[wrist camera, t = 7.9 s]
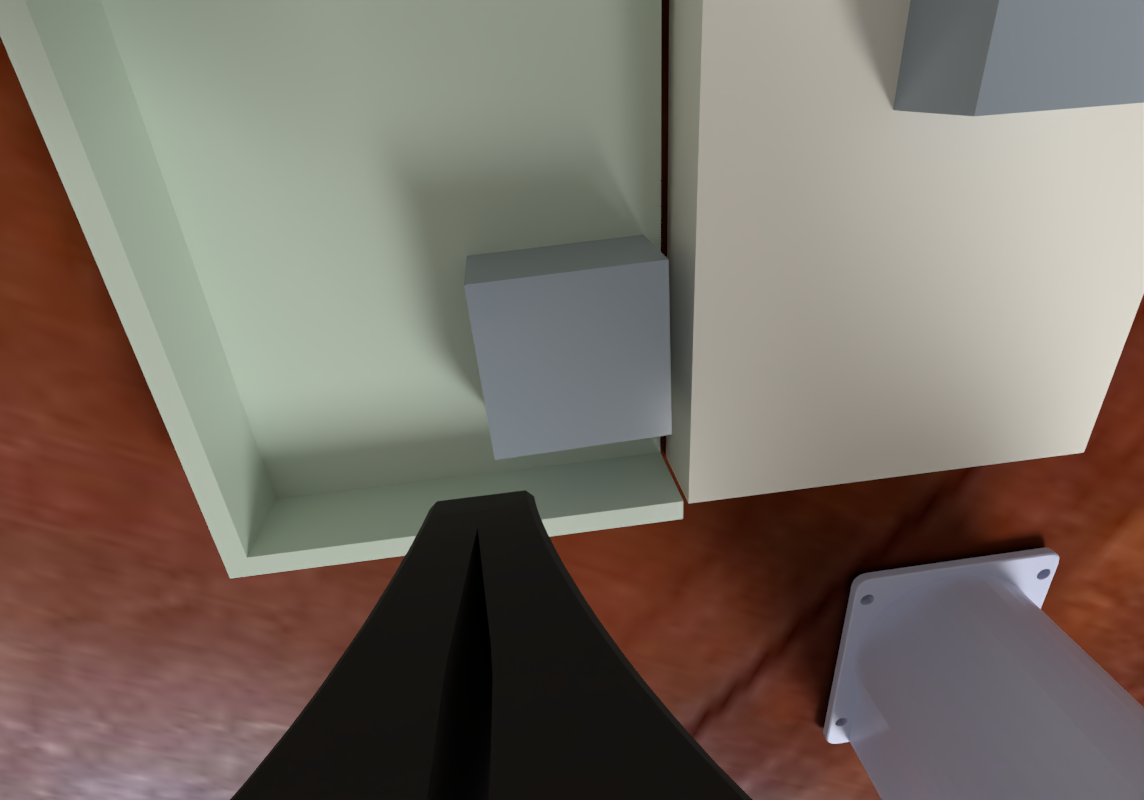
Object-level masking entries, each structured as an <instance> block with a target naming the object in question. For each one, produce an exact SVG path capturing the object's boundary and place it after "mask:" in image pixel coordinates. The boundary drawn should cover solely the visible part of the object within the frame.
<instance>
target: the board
mask: <svg viewBox="0 0 1144 800" xmlns="http://www.w3.org/2000/svg"><path fill="white" fill-rule="evenodd" d="M910 1H911V0H669V71H668V210H667V258H668V259H669V306H670V361H671V415H672V435H666V458H667V460H668V462H669V464H670V466H671V468H672V470H673V472H674V474H675V477H676V479H677V481H678V483H679V485H680V487H681V489H682V491H683V493H684V495H685V497H686V499H687V502H688V504H690V503H698V502H705V501H713V500H721V499H728V498H736V497H744V496H752V495H759V494H767V493H775V492H782V491H790V490H798V489H806V488H813V487H821V486H829V485H836V484H844V483H852V482H860V481H867V480H875V479H883V478H890V477H898V476H906V475H914V474H921V473H929V472H937V471H944V470H952V469H960V468H968V467H975V466H983V465H991V464H998V463H1006V462H1014V461H1022V460H1029V459H1037V458H1045V457H1052V456H1060V455H1068V454H1076V453H1083V452H1084V451H1085V448H1086V445H1087V443H1088V440H1089V437H1090V435H1091V432H1092V429H1093V427H1094V424H1095V421H1096V419H1097V416H1098V413H1099V411H1100V408H1101V405H1102V403H1103V400H1104V397H1105V395H1106V392H1107V389H1108V387H1109V384H1110V382H1111V379H1112V376H1113V374H1114V371H1115V368H1116V366H1117V363H1118V360H1119V358H1120V355H1121V352H1122V350H1123V347H1124V344H1125V342H1126V339H1127V336H1128V334H1129V331H1130V328H1131V326H1132V323H1133V320H1134V318H1135V315H1136V312H1137V310H1138V307H1139V304H1140V302H1141V299H1142V296H1143V294H1144V103H1132V104H1119V105H1107V106H1095V107H1083V108H1070V109H1058V110H1046V111H1034V112H1022V113H1009V114H997V115H985V116H962V115H949V114H936V113H922V112H909V111H896V110H893V108H894V101H895V95H896V89H897V83H898V76H899V70H900V64H901V58H902V51H903V45H904V39H905V33H906V26H907V20H908V14H909V7H910Z"/></svg>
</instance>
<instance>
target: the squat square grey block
mask: <svg viewBox="0 0 1144 800" xmlns="http://www.w3.org/2000/svg"><path fill="white" fill-rule="evenodd" d="M464 290H465V295H466V301H467V307H468V312H469V318H470V323H471V329H472V335H473V340H474V346H475V352H476V357H477V363H478V369H479V374H480V380H481V386H482V391H483V397H484V403H485V408H486V414H487V419H488V425H489V431H490V436H491V442H492V448H493V453H494V459H495V460H499V459H506V458H513V457H520V456H527V455H534V454H541V453H548V452H555V451H562V450H569V449H576V448H583V447H589V446H596V445H603V444H610V443H617V442H624V441H631V440H638V439H645V438H652V437H659V436H666V435H672V415H671V361H670V306H669V259H668V258H667V257H666V256H665V255H664V254H663V253H662V252H661V251H659V250H658V249H657V248H656V247H655V246H654V245H653V244H652V243H651V242H650V241H649V240H648V239H647V238H646V237H645V236H644V235H635V236H627V237H619V238H610V239H602V240H594V241H586V242H577V243H569V244H561V245H553V246H544V247H536V248H528V249H520V250H511V251H503V252H495V253H487V254H478V255H470V256H467V258H466V268H465V277H464Z"/></svg>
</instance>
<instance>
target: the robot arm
mask: <svg viewBox="0 0 1144 800" xmlns="http://www.w3.org/2000/svg"><path fill="white" fill-rule="evenodd" d="M1058 563H1059V556H1058V554H1056V553H1055V552H1054V551H1053V550H1052V549H1050V548H1038V549H1031V550H1024V551H1017V552H1010V553H1003V554H996V555H989V556H982V557H975V558H968V559H960V560H953V561H946V562H939V563H932V564H925V565H918V566H911V567H904V568H897V569H890V570H883V571H876V572H869V573H864V574H861V575H859V576H857V577H856V578H855V579H854V580H853V583H852V585H851V590H850V595H849V601H848V606H847V611H846V616H845V621H844V626H843V632H842V637H841V642H840V647H839V652H838V657H837V663H836V668H835V673H834V678H833V683H832V688H831V694H830V699H829V704H828V709H827V714H826V719H825V725H824V730H823V734H824V736H825V738H826V740H827V741H828V742H829V743H832V744H838V743H844V742H850V743H851V745H852V746H853V748H854V750H855V752H856V754H857V755H858V757H859V759H860V761H861V763H862V765H863V766H864V768H865V770H866V772H867V774H868V776H869V777H870V779H871V781H872V783H873V785H874V786H875V788H876V790H877V792H878V794H879V796H880V797H881V799H882V800H1144V707H1142V706H1141V705H1140V704H1139V703H1138V702H1137V701H1136V700H1135V699H1134V698H1133V697H1132V696H1131V695H1130V694H1129V693H1128V692H1127V691H1126V690H1125V689H1124V688H1123V687H1122V686H1120V685H1119V684H1118V683H1117V682H1116V681H1115V680H1114V679H1113V678H1112V677H1111V676H1110V675H1109V674H1108V673H1107V672H1106V671H1105V670H1104V669H1103V668H1102V667H1101V666H1099V665H1098V664H1097V663H1096V662H1095V661H1094V660H1093V659H1092V658H1091V657H1090V656H1089V655H1088V654H1087V653H1086V652H1085V651H1084V650H1083V649H1082V648H1081V647H1080V646H1079V645H1077V644H1076V643H1075V642H1074V641H1073V640H1072V639H1071V638H1070V637H1069V636H1068V635H1067V634H1066V633H1065V632H1064V631H1063V630H1062V629H1061V628H1060V627H1059V626H1058V625H1057V624H1055V623H1054V622H1053V621H1052V620H1051V619H1050V618H1049V617H1048V616H1047V615H1046V614H1045V613H1044V612H1043V611H1042V610H1041V606H1042V604H1043V601H1044V599H1045V596H1046V594H1047V591H1048V589H1049V586H1050V583H1051V581H1052V578H1053V576H1054V573H1055V571H1056V568H1057V566H1058ZM230 800H752V799H751V798H750V797H749V796H748V795H747V794H746V793H745V792H744V791H743V790H742V789H741V788H740V787H739V786H738V785H737V784H736V783H735V782H734V781H733V780H732V779H731V778H730V777H729V776H728V775H727V774H726V773H725V772H724V771H723V770H722V769H721V768H720V767H719V766H718V765H717V764H716V763H715V762H714V760H713V759H712V758H711V757H710V756H709V755H708V754H707V753H706V752H705V751H704V749H703V748H702V747H701V746H700V745H699V744H698V743H697V742H696V741H695V739H694V738H693V737H692V736H691V735H690V734H689V733H688V732H687V731H686V729H685V728H684V727H683V726H682V725H681V724H680V723H679V722H678V720H677V719H676V718H675V717H674V716H673V715H672V714H671V712H670V711H669V710H668V709H667V708H666V706H665V705H664V704H663V703H662V702H661V700H660V699H659V698H658V697H657V696H656V694H655V693H654V692H653V691H652V690H651V689H650V687H649V686H648V685H647V684H646V682H645V681H644V680H643V679H642V677H641V676H640V675H639V674H638V672H637V671H636V670H635V669H634V667H633V666H632V665H631V663H630V662H629V661H628V659H627V658H626V657H625V655H624V654H623V653H622V652H621V650H620V649H619V647H618V646H617V645H616V643H615V642H614V641H613V639H612V638H611V636H610V635H609V634H608V632H607V631H606V629H605V628H604V627H603V625H602V624H601V622H600V621H599V620H598V618H597V617H596V615H595V614H594V612H593V611H592V609H591V608H590V606H589V605H588V603H587V602H586V600H585V599H584V597H583V595H582V594H581V592H580V590H579V589H578V587H577V586H576V584H575V582H574V581H573V579H572V577H571V576H570V574H569V573H568V571H567V569H566V568H565V566H564V564H563V562H562V561H561V559H560V557H559V555H558V553H557V552H556V550H555V548H554V546H553V544H552V542H551V540H550V538H549V536H548V534H547V531H546V529H545V527H544V525H543V523H542V520H541V518H540V515H539V512H538V509H537V506H536V502H535V497H534V496H533V495H532V494H530V493H529V492H527V491H526V490H524V491H515V492H507V493H499V494H491V495H483V496H475V497H467V498H459V499H451V500H443V501H437V502H436V503H435V504H434V505H433V506H432V507H431V508H430V510H429V512H428V514H427V516H426V518H425V520H424V522H423V524H422V526H421V528H420V530H419V532H418V533H417V535H416V537H415V539H414V541H413V543H412V545H411V546H410V548H409V550H408V552H407V554H406V555H405V557H404V559H403V561H402V562H401V564H400V566H399V568H398V569H397V571H396V573H395V575H394V576H393V578H392V580H391V581H390V583H389V584H388V586H387V588H386V589H385V591H384V592H383V594H382V596H381V597H380V599H379V601H378V602H377V604H376V605H375V607H374V609H373V610H372V612H371V614H370V615H369V617H368V618H367V620H366V621H365V623H364V625H363V626H362V628H361V629H360V631H359V632H358V634H357V635H356V636H355V638H354V639H353V641H352V642H351V644H350V645H349V646H348V648H347V649H346V651H345V652H344V654H343V655H342V657H341V658H340V659H339V661H338V662H337V664H336V665H335V667H334V668H333V670H332V671H331V672H330V674H329V675H328V677H327V678H326V680H325V681H324V682H323V684H322V685H321V687H320V688H319V689H318V691H317V692H316V694H315V695H314V696H313V698H312V699H311V700H310V702H309V703H308V704H307V706H306V707H305V708H304V709H303V711H302V712H301V713H300V715H299V716H298V717H297V719H296V720H295V721H294V723H293V724H292V725H291V726H290V728H289V729H288V730H287V732H286V733H285V734H284V735H283V737H282V738H281V739H280V740H279V742H278V743H277V744H276V745H275V747H274V748H273V749H272V750H271V752H270V753H269V754H268V755H267V756H266V758H265V759H264V760H263V761H262V763H261V764H260V765H259V766H258V768H257V769H256V770H255V771H254V772H253V774H252V775H251V776H250V777H249V778H248V780H247V781H246V782H245V783H244V784H243V786H242V787H241V788H240V789H239V790H238V791H237V792H236V794H235V795H234V796H233V797H232V798H231V799H230Z"/></svg>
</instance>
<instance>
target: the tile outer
mask: <svg viewBox="0 0 1144 800" xmlns="http://www.w3.org/2000/svg"><path fill="white" fill-rule="evenodd" d="M1132 103H1144V0H911V1H910V7H909V14H908V20H907V26H906V33H905V39H904V45H903V51H902V58H901V64H900V70H899V76H898V83H897V89H896V95H895V101H894V108H893V110H896V111H909V112H922V113H936V114H949V115H962V116H985V115H997V114H1009V113H1022V112H1034V111H1046V110H1058V109H1070V108H1083V107H1095V106H1107V105H1119V104H1132Z"/></svg>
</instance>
